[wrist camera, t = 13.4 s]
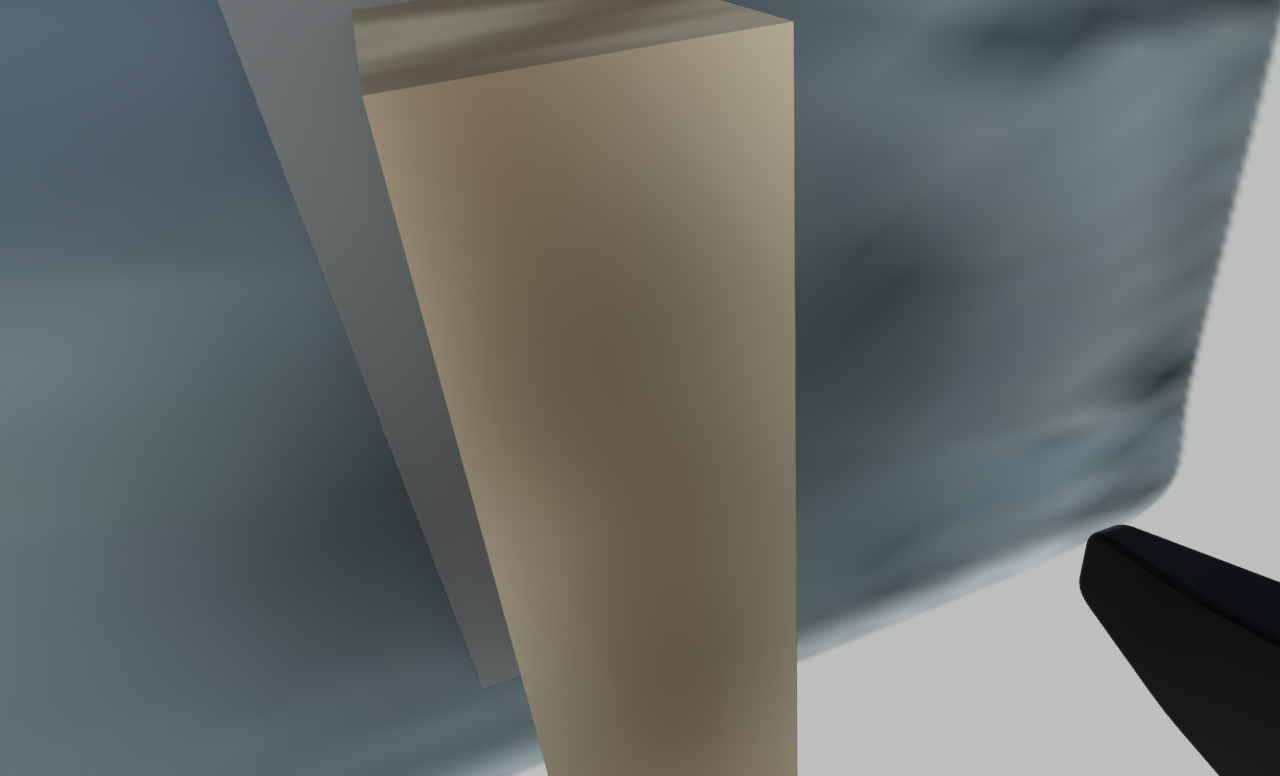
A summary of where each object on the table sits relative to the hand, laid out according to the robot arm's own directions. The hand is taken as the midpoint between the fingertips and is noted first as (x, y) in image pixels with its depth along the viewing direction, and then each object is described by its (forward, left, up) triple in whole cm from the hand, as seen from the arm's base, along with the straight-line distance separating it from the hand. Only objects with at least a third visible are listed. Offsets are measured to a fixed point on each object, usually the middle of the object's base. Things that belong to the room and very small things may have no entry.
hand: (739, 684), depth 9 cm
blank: (-1, 0, -8) cm, 8 cm away
